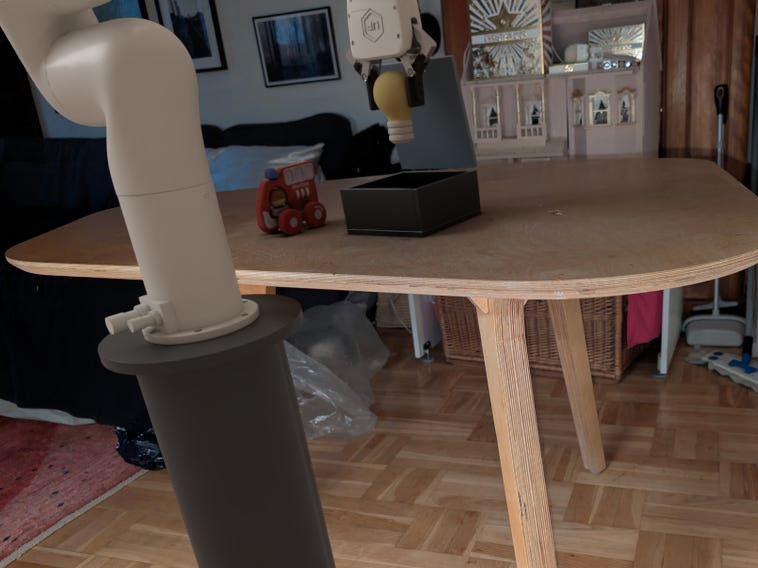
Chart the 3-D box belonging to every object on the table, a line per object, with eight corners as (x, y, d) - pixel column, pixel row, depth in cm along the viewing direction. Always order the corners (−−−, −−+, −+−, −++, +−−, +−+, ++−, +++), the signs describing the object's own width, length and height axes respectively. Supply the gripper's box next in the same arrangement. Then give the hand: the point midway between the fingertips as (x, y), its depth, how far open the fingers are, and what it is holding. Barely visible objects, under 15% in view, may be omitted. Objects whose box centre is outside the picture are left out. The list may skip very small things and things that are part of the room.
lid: (451, 56, 100) (469, 47, 103) (373, 66, 108) (392, 57, 111) (475, 167, 109) (491, 156, 112) (401, 169, 116) (418, 158, 120)
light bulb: (417, 143, 100) (407, 68, 96) (375, 147, 102) (363, 73, 98) (428, 138, 106) (419, 67, 102) (388, 142, 107) (378, 72, 104)
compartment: (423, 237, 100) (416, 189, 97) (347, 234, 108) (339, 189, 105) (481, 213, 112) (476, 169, 109) (409, 212, 119) (403, 171, 117)
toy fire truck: (250, 238, 113) (234, 172, 109) (308, 220, 122) (296, 159, 118) (277, 240, 109) (262, 172, 105) (336, 222, 118) (324, 158, 114)
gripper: (312, -22, 97) (336, 114, 104) (410, -45, 88) (430, 106, 95) (349, -21, 102) (369, 109, 109) (445, -42, 93) (460, 101, 100)
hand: (397, 106), depth 102 cm, fingers closed on light bulb, 6 cm apart
